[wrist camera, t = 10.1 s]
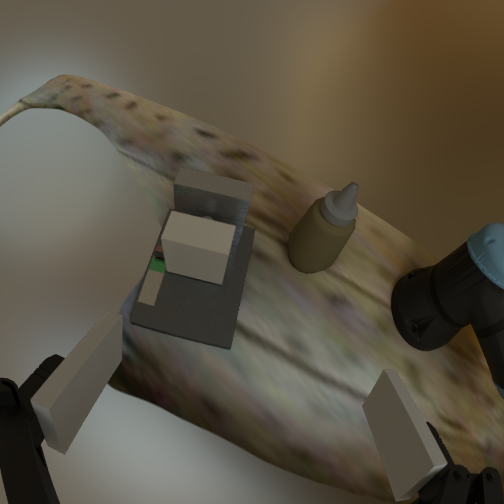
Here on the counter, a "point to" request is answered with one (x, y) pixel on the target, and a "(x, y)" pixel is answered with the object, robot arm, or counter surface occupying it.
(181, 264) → the block
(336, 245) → the squeeze bottle
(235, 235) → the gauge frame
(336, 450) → the counter surface
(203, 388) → the counter surface
